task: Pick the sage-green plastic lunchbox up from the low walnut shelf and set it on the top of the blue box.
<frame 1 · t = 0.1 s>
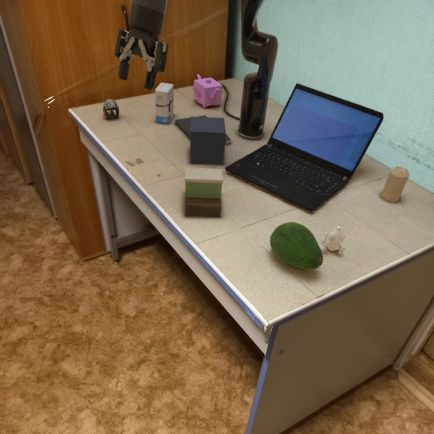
hand: (135, 84, 102), 31 cm above the table, tool tilted 20°, fingers open, 8 cm apart
fruit: (293, 262, 108), on the table
candle: (389, 197, 132), on the table
blue box: (206, 156, 143), on the table
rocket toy: (331, 249, 112), on the table
teapot: (205, 104, 174), on the table
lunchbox: (202, 192, 120), point 4 cm above the table, touching low shelf
notebook: (202, 133, 155), on the table
low shelf: (202, 204, 123), on the table
helmet: (111, 118, 160), on the table
laptop: (297, 171, 140), on the table
ink box: (165, 119, 162), on the table
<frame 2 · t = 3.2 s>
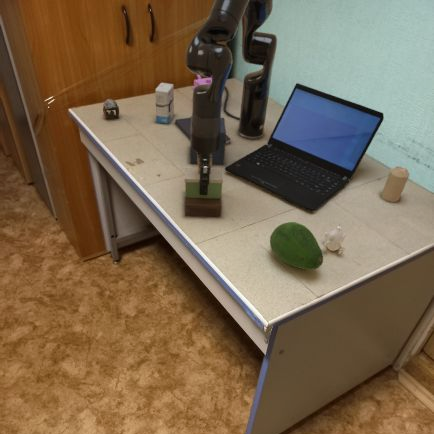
hand: (203, 187, 119), 6 cm above the table, tool pointing down, fingers closed on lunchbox, 6 cm apart
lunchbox: (202, 192, 120), point 4 cm above the table, touching gripper, low shelf
everything else where it was.
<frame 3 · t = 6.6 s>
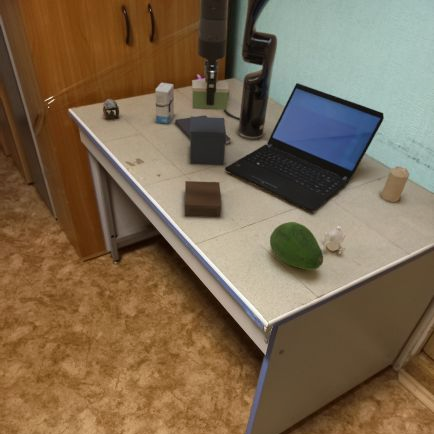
hand: (209, 100, 124), 21 cm above the table, tool pointing down, fingers closed on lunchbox, 6 cm apart
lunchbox: (209, 105, 125), point 19 cm above the table, touching gripper
everything else where it was.
when the fingers open (13 cm above the table, at t = 9.8 s): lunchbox stays where it is, resting on blue box.
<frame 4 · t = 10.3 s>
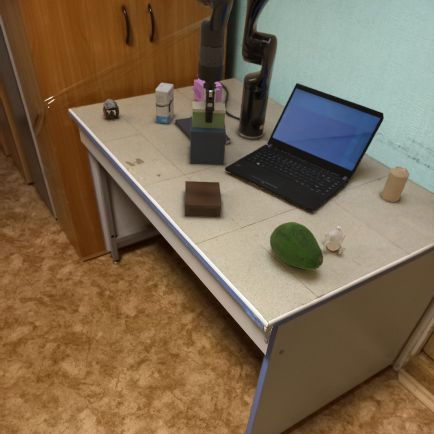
hand: (208, 116, 134), 13 cm above the table, tool pointing down, fingers open, 8 cm apart
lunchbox: (207, 124, 135), point 11 cm above the table, touching blue box
everything else where it was.
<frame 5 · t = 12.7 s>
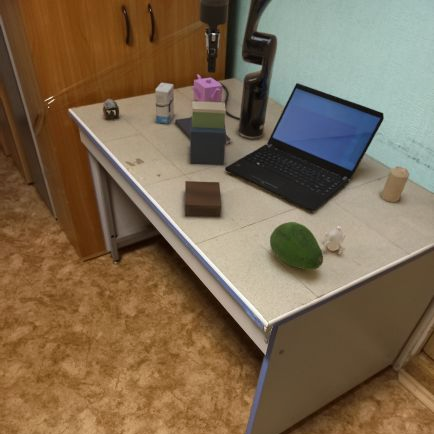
hand: (210, 67, 123), 28 cm above the table, tool pointing down, fingers open, 8 cm apart
nothing on the table moved.
at the end: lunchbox inside the target area on the blue box (0.1 cm from its centre), point 11.0 cm above the blue box's base; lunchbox tilted 0°; the gripper is holding nothing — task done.
